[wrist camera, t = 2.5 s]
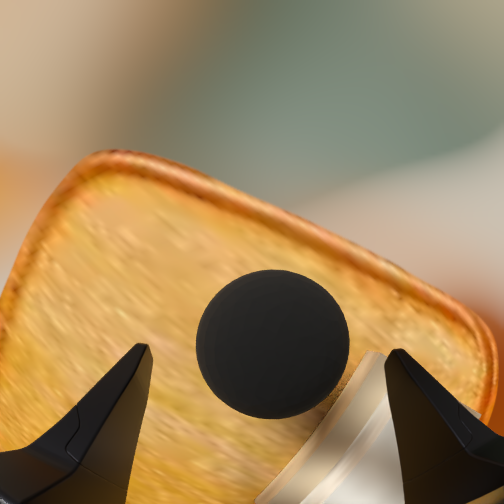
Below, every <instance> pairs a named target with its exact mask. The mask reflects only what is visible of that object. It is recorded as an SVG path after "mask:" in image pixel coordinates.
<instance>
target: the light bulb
mask: <svg viewBox="0 0 504 504" xmlns="http://www.w3.org/2000/svg"><path fill="white" fill-rule="evenodd" d="M349 342H350V340H349V331H348V327H347V322H346V320H345V317H344V314H343V312H342V310H341V309H340V307H339V305H338V304H337V302H336V301H335V300H334V298H333V297H332V296H331V295H330V294H329V293H328V292H327V291H326V290H325V289H324V288H323V287H322V286H320V285H319V284H317V283H316V282H314V281H313V280H311V279H309V278H307V277H305V276H302V275H300V274H297V273H293V272H290V271H285V270H262V271H257V272H253V273H249V274H247V275H244V276H241V277H239V278H238V279H236V280H234V281H232V282H231V283H229V284H228V285H226V286H225V287H224V288H223V289H221V290H220V291H219V292H218V293H217V294H216V295H215V297H214V298H213V299H212V300H211V301H210V303H209V304H208V306H207V307H206V309H205V311H204V313H203V315H202V317H201V320H200V323H199V326H198V330H197V336H196V354H197V360H198V364H199V368H200V371H201V373H202V376H203V378H204V379H205V381H206V383H207V385H208V386H209V387H210V389H211V390H212V391H213V393H214V394H215V395H216V396H217V397H218V398H219V399H220V400H222V401H223V402H224V403H226V404H227V405H228V406H230V407H231V408H233V409H235V410H237V411H238V412H240V413H243V414H245V415H248V416H252V417H256V418H262V419H282V418H289V417H292V416H296V415H299V414H301V413H304V412H306V411H308V410H310V409H311V408H313V407H315V406H316V405H318V404H319V403H320V402H322V401H323V400H324V399H325V398H326V397H327V396H328V395H329V394H330V393H331V392H332V390H333V389H334V388H335V387H336V385H337V384H338V382H339V380H340V379H341V377H342V375H343V372H344V370H345V367H346V364H347V360H348V355H349Z"/></svg>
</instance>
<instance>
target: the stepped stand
mask: <svg viewBox="0 0 504 504" xmlns="http://www.w3.org/2000/svg"><path fill="white" fill-rule="evenodd" d="M386 359H387V356H385V355H383V354H382V353H380V352H373V351H367V352H366V353H365V355H364V357H363V359H362V360H361V362H360V364H359V365H358V367H357V369H356V370H355V372H354V374H353V375H352V377H351V379H350V380H349V382H348V383H347V385H346V386H345V388H344V390H343V391H342V393H341V394H340V396H339V397H338V399H337V400H336V402H335V403H334V405H333V406H332V407H331V409H330V410H329V412H328V413H327V415H326V416H325V417H324V419H323V420H322V422H321V423H320V424H319V426H318V427H317V428H316V430H315V431H314V432H313V434H312V435H311V436H310V438H309V439H308V440H307V441H306V443H305V444H304V445H303V446H302V448H301V449H300V450H299V451H298V453H297V454H296V455H295V456H294V457H293V458H292V460H291V461H290V462H289V463H288V464H287V465H286V467H285V468H284V469H283V470H282V471H281V472H280V473H279V475H278V476H277V477H276V478H275V479H274V480H273V481H272V482H271V483H270V484H269V485H268V486H267V487H266V488H265V489H264V490H263V491H262V493H261V494H260V495H259V496H258V497H257V498H256V499H255V504H405V501H404V491H403V481H402V474H401V466H400V460H399V453H398V447H397V441H396V436H395V431H394V425H393V420H392V415H391V411H390V406H389V401H388V395H387V386H386V378H385V371H384V363H385V361H386ZM458 402H459V401H458ZM460 403H461V402H460ZM461 404H462V405H463V406H464V407H465V408H466V409H467V410H468V411H469V412H470V413H471V414H473V415H474V416H475V417H476V418H477V419H478V420H479V418H480V416H481V414H479V413H478V412H476V411H474V410H473V409H471V408H469V407H468V406H466V405H464V404H463V403H461Z"/></svg>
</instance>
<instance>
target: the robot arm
mask: <svg viewBox="0 0 504 504" xmlns="http://www.w3.org/2000/svg"><path fill="white" fill-rule="evenodd" d="M152 366H153V357H152V354H151V351H150V347H149V345H148V344H144V343H137V344H135V345H134V346H133V347H132V348H131V349H130V350H129V351H128V352H127V353H126V354H125V355H124V356H123V357H122V358H121V359H120V360H119V361H118V362H117V363H116V364H115V365H114V366H113V367H112V368H111V369H110V370H109V371H108V372H107V373H106V374H105V375H104V376H103V377H102V378H101V379H100V380H99V381H98V382H97V384H96V385H95V386H94V387H93V388H92V389H91V390H90V391H89V392H88V393H87V394H86V395H85V396H84V397H83V398H82V399H81V400H80V401H79V402H78V403H77V405H75V406H74V407H73V408H72V409H71V410H70V411H69V412H68V413H67V414H66V415H65V416H64V417H63V418H62V419H61V420H60V421H59V422H57V423H56V424H55V425H54V426H53V427H52V428H50V429H49V430H48V431H47V432H45V433H44V434H43V435H42V436H40V437H39V438H38V439H37V440H35V441H34V442H33V443H31V444H30V445H28V446H27V447H24V448H22V449H18V450H12V451H6V452H0V504H125V502H126V496H127V490H128V484H129V479H130V474H131V469H132V464H133V460H134V455H135V450H136V446H137V442H138V437H139V433H140V429H141V425H142V420H143V416H144V412H145V408H146V405H147V400H148V394H149V386H150V379H151V372H152ZM384 371H385V378H386V386H387V395H388V401H389V406H390V411H391V415H392V420H393V425H394V431H395V436H396V441H397V447H398V453H399V460H400V466H401V474H402V481H403V491H404V501H405V504H504V437H502V436H500V435H498V434H496V433H494V432H493V431H492V430H491V429H490V428H488V427H487V426H486V425H485V424H483V423H482V422H481V421H480V420H478V419H477V418H476V417H475V416H474V415H473V414H471V413H470V412H469V411H468V410H467V409H466V408H465V407H464V406H463V405H462V404H461V403H460V402H458V400H457V399H456V398H455V397H454V396H453V395H452V394H450V393H449V392H448V391H447V390H446V389H445V388H444V387H443V386H442V385H441V384H440V383H439V382H438V381H437V380H436V379H435V378H434V377H433V376H432V375H431V374H430V373H428V372H427V371H426V370H425V369H424V368H423V367H422V366H421V365H420V364H419V363H418V362H417V361H416V360H415V359H413V358H412V357H411V356H410V355H409V354H408V353H407V352H406V351H405V350H404V349H402V348H399V349H393V350H392V351H391V353H390V354H389V356H388V357H387V359H386V361H385V363H384Z"/></svg>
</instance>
